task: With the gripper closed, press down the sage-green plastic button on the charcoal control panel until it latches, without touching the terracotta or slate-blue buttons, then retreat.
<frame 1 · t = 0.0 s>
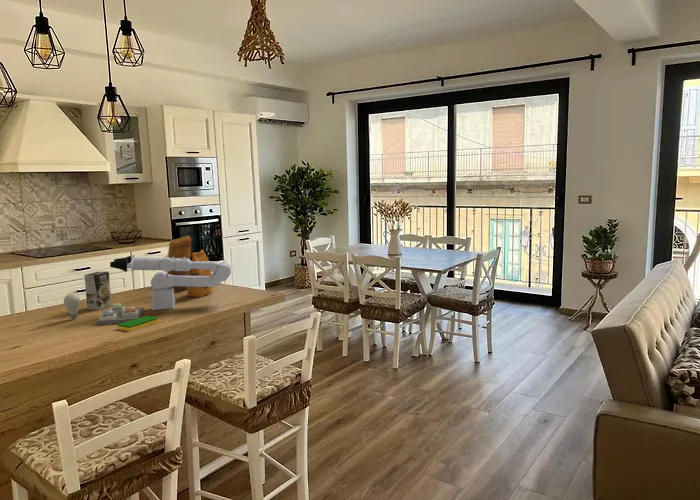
hand: (112, 263, 223), 22 cm above the kitchen island, tool horizontal, fingers open, 7 cm apart
pancake mix bag: (181, 290, 266), on the kitchen island
terracotta button: (130, 309, 213), point 4 cm above the kitchen island, slide at 0.0 cm
button panel: (121, 317, 215), on the kitchen island
sage button: (116, 306, 218), point 4 cm above the kitchen island, slide at 0.0 cm
lightbulb: (73, 319, 214), on the kitchen island
coffee box: (99, 307, 234), on the kitchen island
coffee package: (200, 294, 256), on the kitchen island
dish sponge: (138, 327, 203), on the kitchen island
slate button: (107, 313, 208), point 4 cm above the kitchen island, slide at 0.0 cm
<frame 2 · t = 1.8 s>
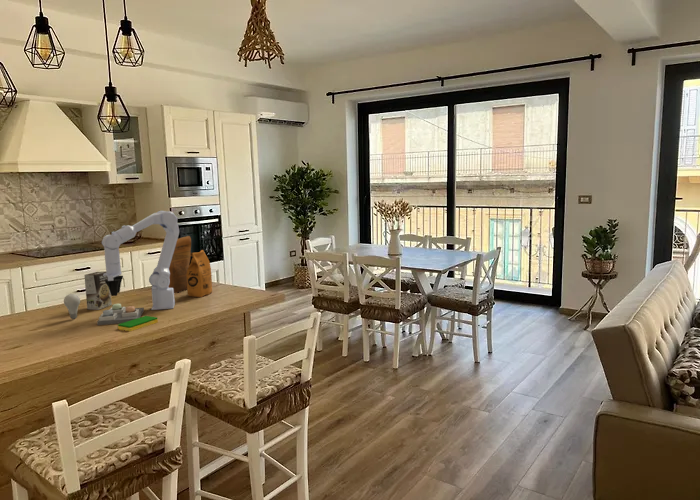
hand: (115, 294, 217), 9 cm above the kitchen island, tool pointing down, fingers open, 5 cm apart
nothing on the kitchen island moved.
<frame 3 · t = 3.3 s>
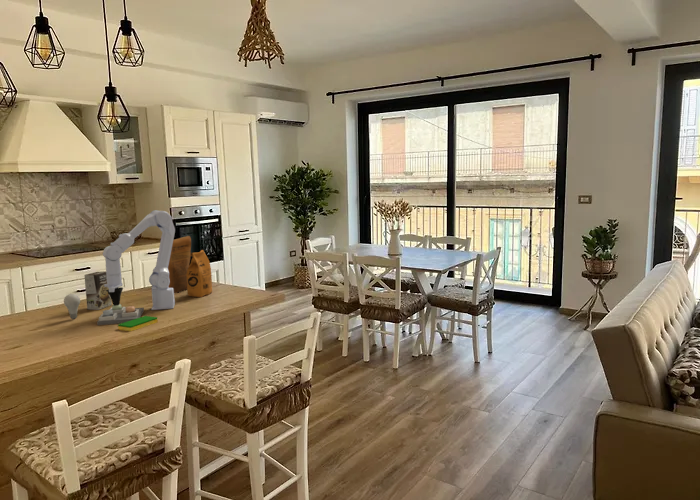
hand: (116, 305, 218), 5 cm above the kitchen island, tool pointing down, fingers closed, pressing on sage button
sage button: (116, 307, 218), point 4 cm above the kitchen island, slide at 0.2 cm, touching gripper
everything else where it was.
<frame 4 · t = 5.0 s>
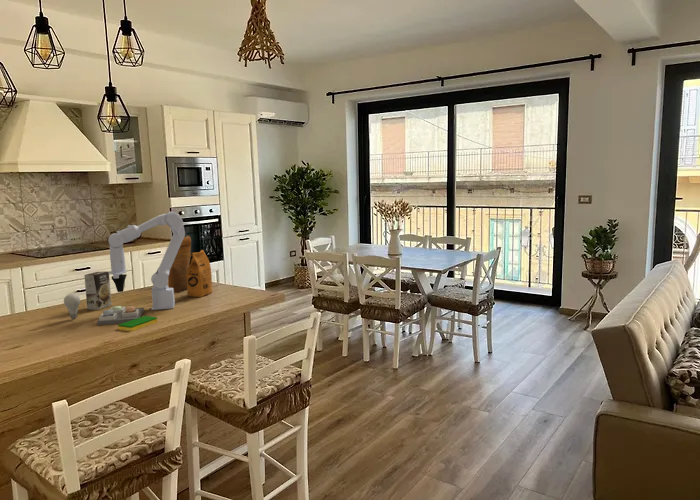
hand: (120, 291, 223), 9 cm above the kitchen island, tool pointing down, fingers closed
sage button: (116, 309, 218), point 3 cm above the kitchen island, slide at 1.0 cm
everything else where it was.
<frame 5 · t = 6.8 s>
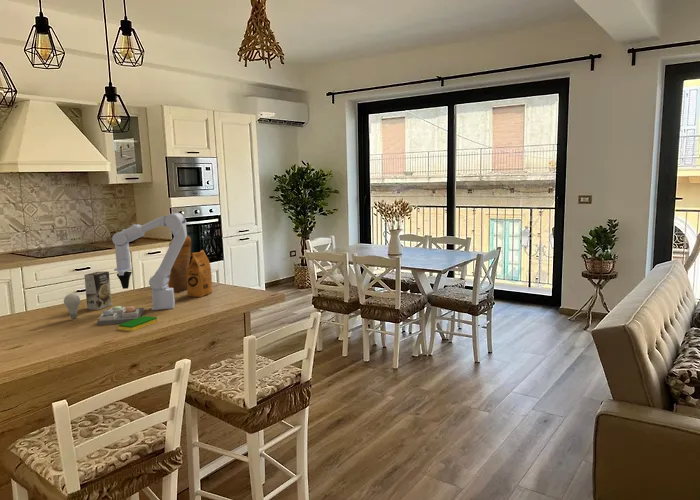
hand: (125, 288, 229), 9 cm above the kitchen island, tool pointing down, fingers closed
nothing on the kitchen island moved.
at the end: sage button slide at 1.0 cm; terracotta button slide at 0.0 cm; slate button slide at 0.0 cm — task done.
